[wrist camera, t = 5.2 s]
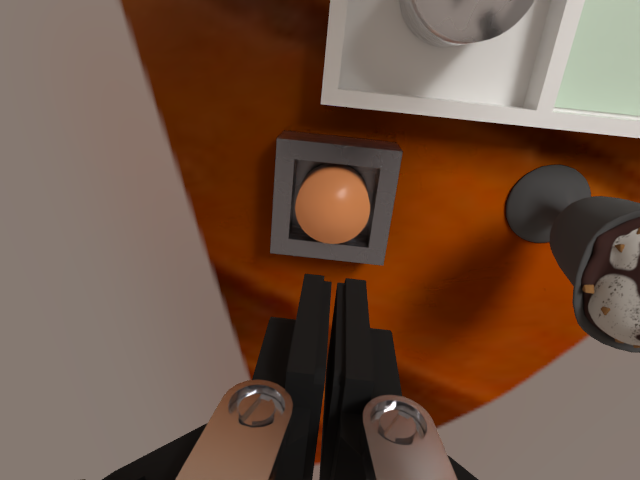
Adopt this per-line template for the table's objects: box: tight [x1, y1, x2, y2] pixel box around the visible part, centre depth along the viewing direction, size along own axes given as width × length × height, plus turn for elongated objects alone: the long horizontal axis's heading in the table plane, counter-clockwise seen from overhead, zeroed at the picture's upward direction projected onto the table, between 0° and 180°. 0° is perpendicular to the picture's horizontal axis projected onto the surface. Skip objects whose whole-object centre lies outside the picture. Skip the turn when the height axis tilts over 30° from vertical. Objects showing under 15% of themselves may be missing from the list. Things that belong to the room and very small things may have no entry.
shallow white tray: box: [321, 0, 640, 138], centre depth 21 cm, size 12×22×3 cm, turn 84°
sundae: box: [506, 165, 640, 352], centre depth 19 cm, size 7×7×15 cm
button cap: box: [295, 163, 370, 244], centre depth 24 cm, size 4×4×2 cm
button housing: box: [270, 130, 403, 265], centre depth 25 cm, size 7×7×3 cm
